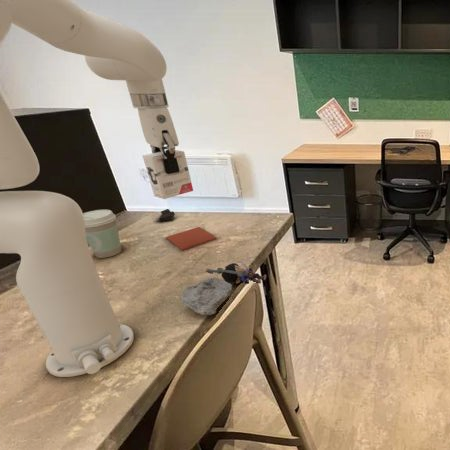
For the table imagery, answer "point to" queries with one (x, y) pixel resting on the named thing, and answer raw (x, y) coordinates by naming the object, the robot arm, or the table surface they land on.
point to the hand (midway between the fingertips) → (168, 170)
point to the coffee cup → (102, 233)
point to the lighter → (166, 215)
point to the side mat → (190, 238)
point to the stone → (206, 295)
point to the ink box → (167, 175)
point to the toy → (238, 274)
